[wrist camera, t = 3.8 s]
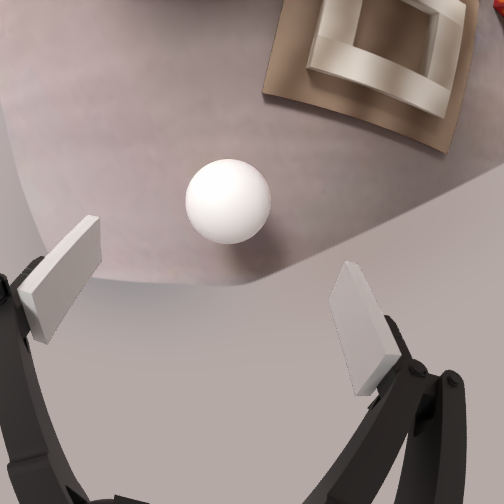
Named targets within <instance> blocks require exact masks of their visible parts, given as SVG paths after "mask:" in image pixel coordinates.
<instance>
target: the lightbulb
mask: <svg viewBox="0 0 504 504" xmlns="http://www.w3.org/2000/svg"><path fill="white" fill-rule="evenodd" d="M270 207H271V195H270V191H269V187H268V184H267V182H266V181H265V179H264V177H263V176H262V175H261V174H260V172H259V171H257V170H256V169H255V168H254V167H252V166H251V165H249V164H247V163H245V162H242V161H239V160H233V159H225V160H218V161H215V162H212V163H210V164H208V165H206V166H204V167H203V168H202V169H200V170H199V171H198V172H197V173H196V174H195V176H194V177H193V178H192V180H191V182H190V184H189V186H188V188H187V193H186V211H187V215H188V217H189V219H190V222H191V223H192V225H193V226H194V228H195V229H196V230H197V231H198V232H199V233H200V234H201V235H202V236H204V237H205V238H207V239H209V240H211V241H213V242H217V243H221V244H235V243H239V242H243V241H245V240H247V239H249V238H251V237H252V236H254V235H255V234H256V233H257V232H258V231H259V230H260V229H261V228H262V227H263V225H264V223H265V222H266V220H267V217H268V215H269V212H270Z"/></svg>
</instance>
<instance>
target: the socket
mask: <svg viewBox="0 0 504 504" xmlns="http://www.w3.org/2000/svg"><path fill="white" fill-rule="evenodd" d="M478 6H479V1H478V0H284V2H283V6H282V10H281V14H280V18H279V22H278V26H277V31H276V35H275V39H274V43H273V47H272V51H271V56H270V60H269V64H268V68H267V73H266V77H265V81H264V86H263V90H262V93H266V94H270V95H275V96H279V97H284V98H288V99H292V100H296V101H300V102H304V103H308V104H312V105H315V106H319V107H323V108H326V109H329V110H333V111H336V112H339V113H343V114H346V115H349V116H352V117H355V118H358V119H361V120H364V121H367V122H370V123H373V124H376V125H378V126H381V127H384V128H386V129H389V130H392V131H394V132H397V133H399V134H402V135H404V136H407V137H409V138H412V139H414V140H417V141H419V142H421V143H424V144H426V145H428V146H430V147H433V148H435V149H437V150H439V151H441V152H443V153H446V154H447V153H448V150H449V147H450V144H451V141H452V137H453V134H454V131H455V127H456V124H457V120H458V116H459V113H460V109H461V105H462V101H463V97H464V93H465V88H466V84H467V79H468V74H469V69H470V64H471V59H472V53H473V47H474V40H475V33H476V25H477V16H478Z"/></svg>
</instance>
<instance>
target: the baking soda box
mask: <svg viewBox="0 0 504 504" xmlns="http://www.w3.org/2000/svg"><path fill="white" fill-rule="evenodd" d="M493 7H494V8H495V9H496V10H497V11H498V12H499V13H500V14H501V15H502V16H503V17H504V0H494V6H493Z"/></svg>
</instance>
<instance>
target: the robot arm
mask: <svg viewBox="0 0 504 504" xmlns="http://www.w3.org/2000/svg"><path fill="white" fill-rule="evenodd" d="M101 262H102V255H101V237H100V217H97V216H91V215H87V216H86V217H85V218H84V219H83V220H82V221H81V222H80V223H79V224H78V225H77V226H76V227H75V228H73V229H72V230H71V231H70V232H69V233H68V234H67V235H66V236H65V237H64V238H63V239H62V240H61V241H60V242H59V243H58V244H57V245H56V247H55V248H54V249H53V250H52V251H51V252H50V253H49V254H48V255H47V256H46V257H44V256H40V257H38V258H37V259H35V260H33V261H32V262H31V263H30V264H29V265H28V266H27V268H26V269H24V271H23V272H22V274H20V275H19V276H18V277H17V278H16V279H15V281H14V282H13V283H12V284H11V285H10V286H9V284H8V280H7V277H6V276H5V275H4V274H1V273H0V426H1V430H2V434H3V438H4V441H5V445H6V448H7V452H8V455H9V459H10V463H9V464H8V465H7V471H8V474H9V478H10V480H11V483H12V486H13V488H14V491H15V493H16V496H17V499H18V501H19V503H20V504H149V503H146V502H141V501H137V500H133V499H129V498H126V497H121V496H118V495H115V496H114V499H101V500H95V501H91V502H90V501H89V498H88V497H87V495H86V493H85V492H84V490H83V488H82V487H81V485H80V484H79V483H78V481H77V480H76V478H75V476H74V474H73V472H72V470H71V468H70V466H69V464H68V461H67V459H66V457H65V455H64V453H63V450H62V448H61V445H60V443H59V441H58V438H57V436H56V433H55V430H54V428H53V425H52V422H51V420H50V417H49V414H48V411H47V408H46V405H45V402H44V399H43V396H42V393H41V389H40V386H39V383H38V379H37V375H36V372H35V368H34V364H33V360H32V356H31V352H30V347H29V342H28V339H27V337H26V336H27V334H28V333H29V331H31V333H32V336H33V339H34V340H36V341H39V342H42V343H44V344H48V343H49V341H50V340H51V338H52V336H53V335H54V333H55V331H56V330H57V328H58V326H59V325H60V323H61V321H62V320H63V318H64V317H65V315H66V313H67V312H68V310H69V309H70V307H71V305H72V304H73V303H74V301H75V299H76V298H77V296H78V295H79V293H80V292H81V290H82V289H83V287H84V286H85V285H86V283H87V282H88V280H89V279H90V277H91V276H92V274H93V273H94V272H95V270H96V269H97V267H98V266H99V264H100V263H101ZM328 302H329V306H330V309H331V312H332V315H333V319H334V322H335V325H336V329H337V332H338V335H339V339H340V342H341V346H342V349H343V353H344V356H345V360H346V364H347V367H348V371H349V374H350V378H351V382H352V386H353V389H354V393H355V396H370V395H371V394H372V393H373V391H374V390H375V389H376V388H377V390H378V393H379V395H378V396H377V397H376V399H375V400H374V401H373V402H372V403H371V404H370V406H369V407H368V409H369V411H368V412H367V414H366V416H365V417H364V419H363V420H362V422H361V424H360V425H359V427H358V428H357V430H356V432H355V433H354V435H353V436H352V438H351V439H350V441H349V442H348V444H347V445H346V447H345V448H344V450H343V451H342V453H341V454H340V455H339V457H338V458H337V460H336V461H335V463H334V464H333V465H332V467H331V468H330V469H329V471H328V472H327V473H326V475H325V476H324V477H323V479H322V480H321V481H320V483H319V484H318V485H317V487H316V488H315V489H314V490H313V491H312V493H311V494H310V495H309V496H308V497H307V499H306V500H305V501H304V502H303V504H371V503H372V501H373V499H374V498H375V496H376V494H377V493H378V491H379V489H380V488H381V486H382V483H383V482H384V480H385V478H386V477H387V475H388V473H389V471H390V469H391V467H392V465H393V463H394V461H395V459H396V457H397V455H398V453H399V450H400V448H401V446H402V444H403V442H404V440H405V437H406V435H407V433H408V438H407V445H406V450H405V456H404V461H403V466H402V472H401V476H400V481H399V485H398V490H397V494H396V498H395V502H394V504H463V496H464V486H465V474H466V449H467V435H466V434H467V433H466V432H467V427H466V402H465V388H464V382H463V380H462V378H461V377H460V375H459V374H458V373H456V372H454V371H452V370H446V371H444V373H443V374H442V375H441V376H436V375H432V374H429V373H428V371H427V368H426V367H425V366H424V365H423V364H422V363H421V362H419V361H417V360H415V359H412V356H411V354H410V352H409V350H408V348H407V346H406V344H405V341H404V340H403V339H402V335H401V333H400V332H399V329H398V327H397V325H396V323H395V322H394V321H393V320H392V319H391V318H390V316H387V315H383V313H382V311H381V309H380V307H379V305H378V303H377V301H376V299H375V297H374V295H373V293H372V291H371V289H370V287H369V285H368V283H367V281H366V279H365V277H364V275H363V273H362V272H361V269H360V267H359V266H358V264H357V263H354V262H349V261H344V264H343V266H342V269H341V271H340V274H339V276H338V278H337V281H336V283H335V285H334V288H333V290H332V293H331V295H330V297H329V299H328Z"/></svg>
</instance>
